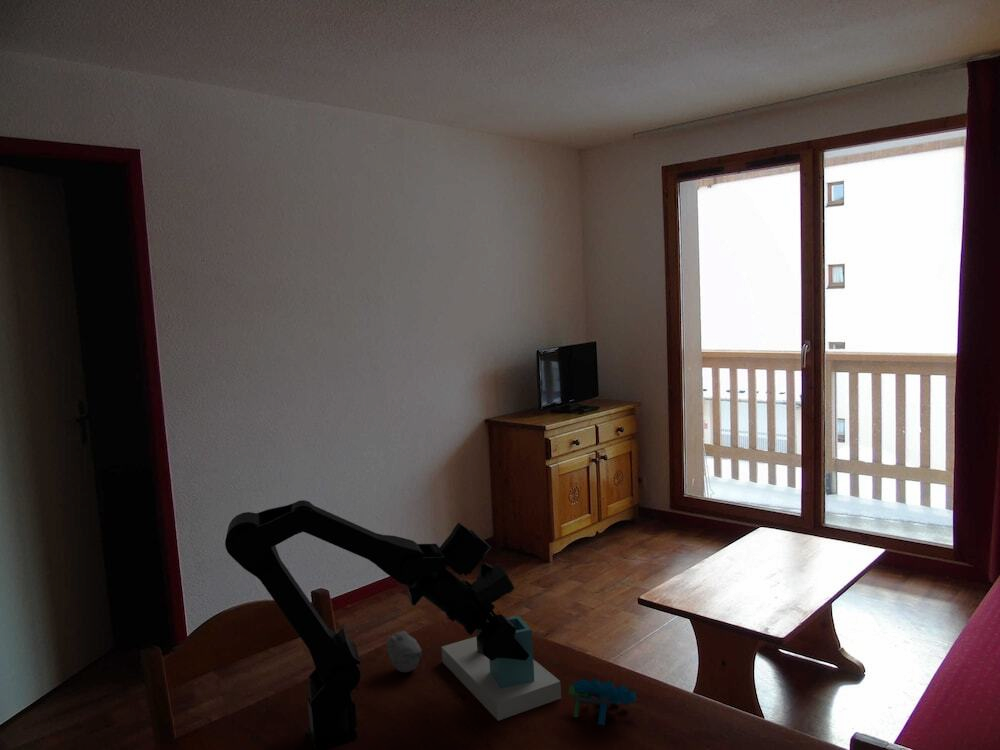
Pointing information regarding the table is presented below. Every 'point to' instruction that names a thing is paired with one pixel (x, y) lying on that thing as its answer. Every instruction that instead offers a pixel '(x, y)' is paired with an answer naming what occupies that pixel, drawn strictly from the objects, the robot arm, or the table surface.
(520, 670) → the collar
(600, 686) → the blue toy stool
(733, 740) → the table surface
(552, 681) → the board
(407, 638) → the grey rounded lump
